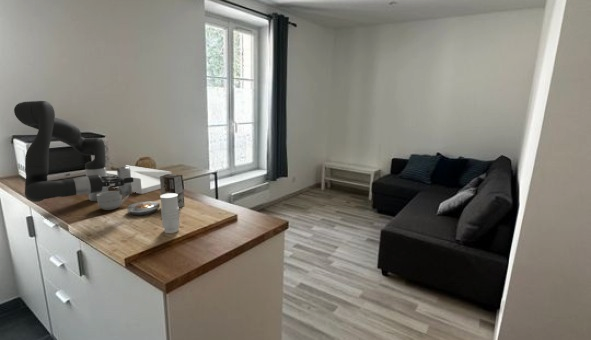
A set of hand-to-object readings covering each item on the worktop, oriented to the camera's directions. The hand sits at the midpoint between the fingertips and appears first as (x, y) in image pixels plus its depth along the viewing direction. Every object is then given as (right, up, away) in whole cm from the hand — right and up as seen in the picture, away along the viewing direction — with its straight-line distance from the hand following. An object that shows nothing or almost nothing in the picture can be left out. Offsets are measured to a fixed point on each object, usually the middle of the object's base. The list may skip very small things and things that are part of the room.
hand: (130, 178), depth 142 cm
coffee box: (+13, -15, +17) cm, 26 cm away
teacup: (-16, -15, +14) cm, 26 cm away
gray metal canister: (-2, -7, 0) cm, 7 cm away
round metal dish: (+2, -16, +8) cm, 18 cm away
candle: (+24, -21, -13) cm, 35 cm away
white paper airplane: (-29, -6, +58) cm, 65 cm away
